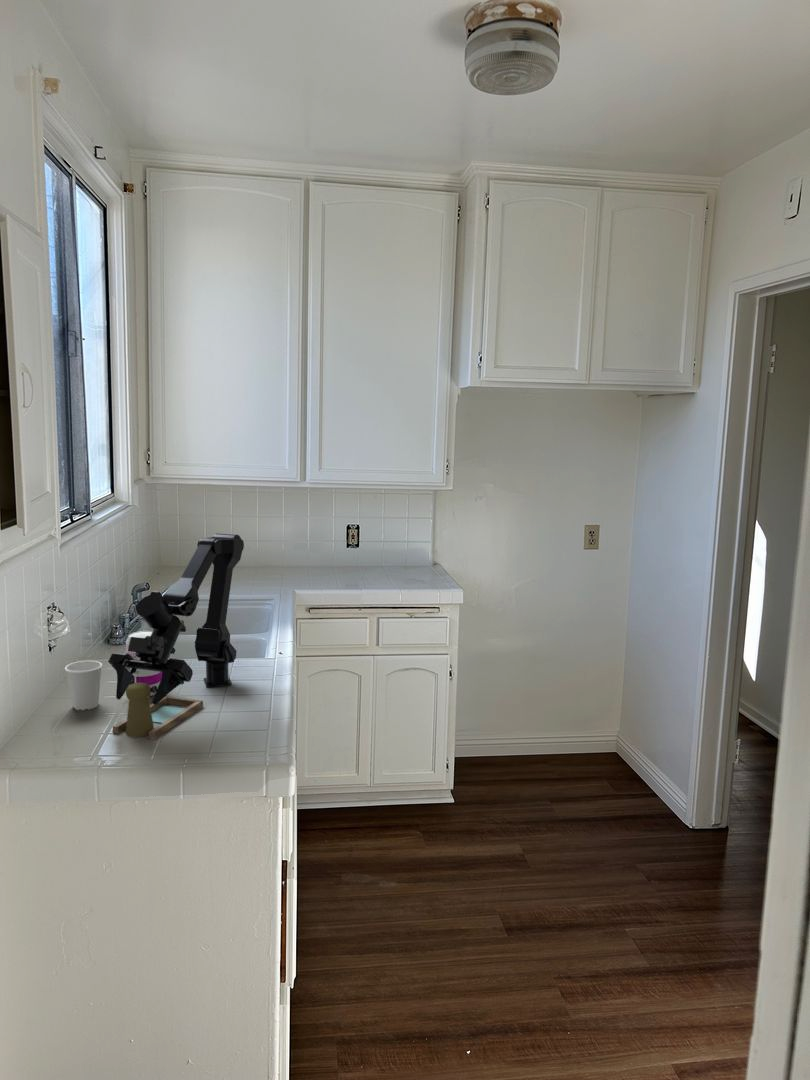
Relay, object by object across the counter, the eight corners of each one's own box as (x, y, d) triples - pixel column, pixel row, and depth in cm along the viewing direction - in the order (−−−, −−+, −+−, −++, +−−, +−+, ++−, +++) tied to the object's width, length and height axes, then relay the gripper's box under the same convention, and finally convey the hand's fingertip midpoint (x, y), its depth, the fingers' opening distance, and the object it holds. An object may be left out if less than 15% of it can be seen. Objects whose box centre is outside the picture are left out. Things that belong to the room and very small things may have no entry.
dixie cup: (90, 697, 198) (88, 658, 196) (111, 704, 194) (109, 664, 192) (59, 707, 191) (57, 667, 190) (81, 714, 187) (78, 673, 185)
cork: (144, 724, 182) (142, 677, 180) (159, 731, 178) (158, 683, 176) (120, 732, 177) (118, 684, 175) (135, 739, 173) (133, 691, 172)
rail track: (165, 701, 196) (165, 695, 196) (203, 706, 193) (202, 700, 193) (113, 732, 177) (112, 726, 177) (153, 738, 174) (153, 732, 174)
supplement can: (168, 688, 205) (166, 631, 202) (150, 699, 197) (148, 640, 194) (141, 685, 207) (138, 628, 204) (121, 695, 199) (119, 637, 197)
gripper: (111, 617, 180) (80, 679, 172) (184, 625, 175) (156, 689, 166) (134, 641, 189) (106, 702, 180) (204, 649, 184) (178, 712, 175)
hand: (135, 701), depth 175 cm, fingers open, 9 cm apart
